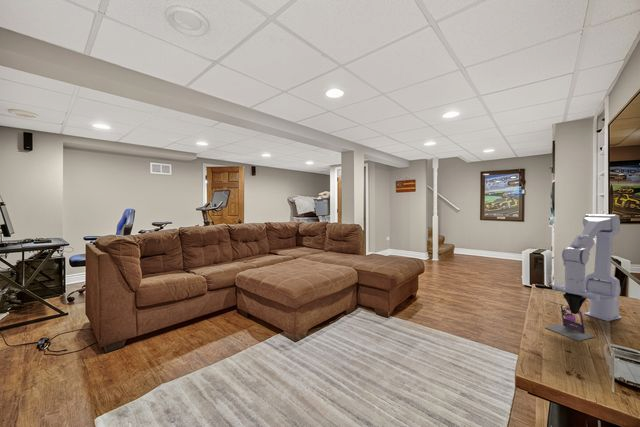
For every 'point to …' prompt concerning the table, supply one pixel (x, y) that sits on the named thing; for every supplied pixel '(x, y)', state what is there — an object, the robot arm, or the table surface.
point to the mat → (569, 332)
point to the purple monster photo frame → (572, 320)
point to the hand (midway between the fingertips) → (574, 313)
